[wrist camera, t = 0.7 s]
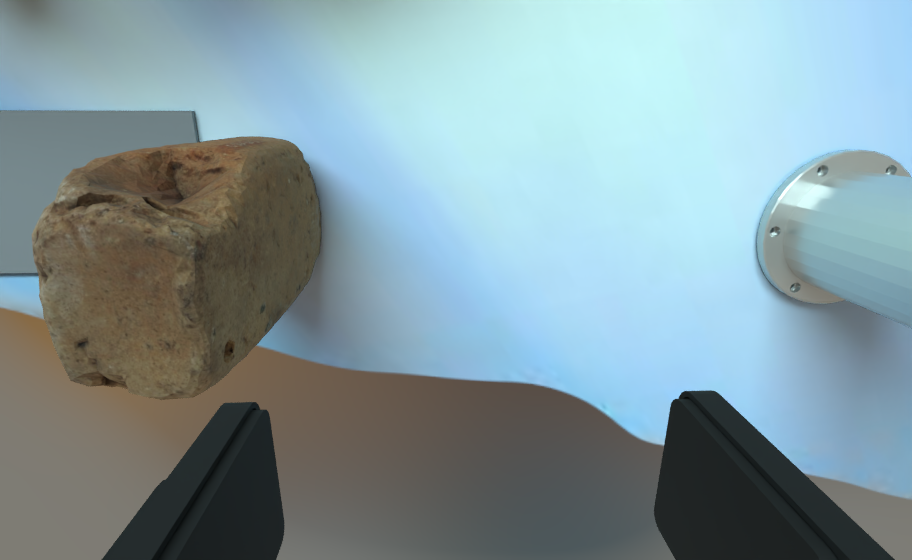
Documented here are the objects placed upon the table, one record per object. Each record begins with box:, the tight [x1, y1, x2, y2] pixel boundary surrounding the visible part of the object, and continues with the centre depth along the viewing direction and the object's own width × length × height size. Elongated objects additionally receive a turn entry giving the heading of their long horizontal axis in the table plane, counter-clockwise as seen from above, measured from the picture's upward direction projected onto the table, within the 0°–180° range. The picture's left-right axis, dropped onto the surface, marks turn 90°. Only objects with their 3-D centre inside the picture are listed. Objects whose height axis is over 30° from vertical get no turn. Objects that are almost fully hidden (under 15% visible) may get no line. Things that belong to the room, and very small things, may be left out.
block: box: [32, 137, 321, 400], centre depth 28 cm, size 11×8×20 cm
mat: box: [0, 111, 199, 273], centre depth 36 cm, size 18×12×1 cm, turn 90°
